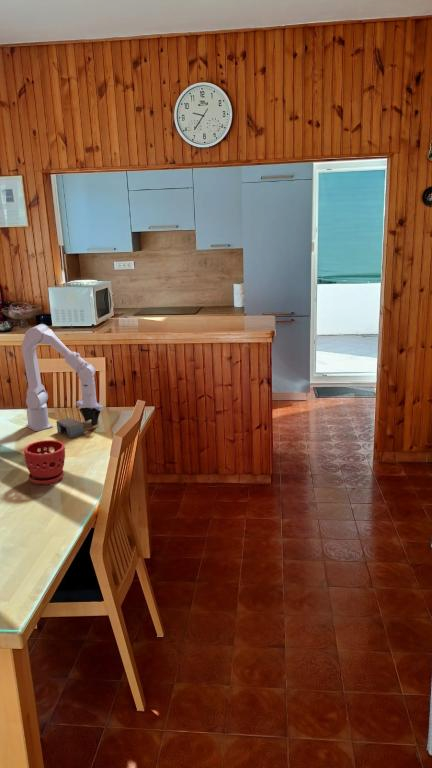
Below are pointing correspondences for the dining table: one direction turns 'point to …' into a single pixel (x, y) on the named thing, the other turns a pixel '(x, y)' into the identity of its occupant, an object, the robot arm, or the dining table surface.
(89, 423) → the capped rod
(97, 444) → the dining table surface
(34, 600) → the dining table surface
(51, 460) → the plant pot
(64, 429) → the sleeve housing
